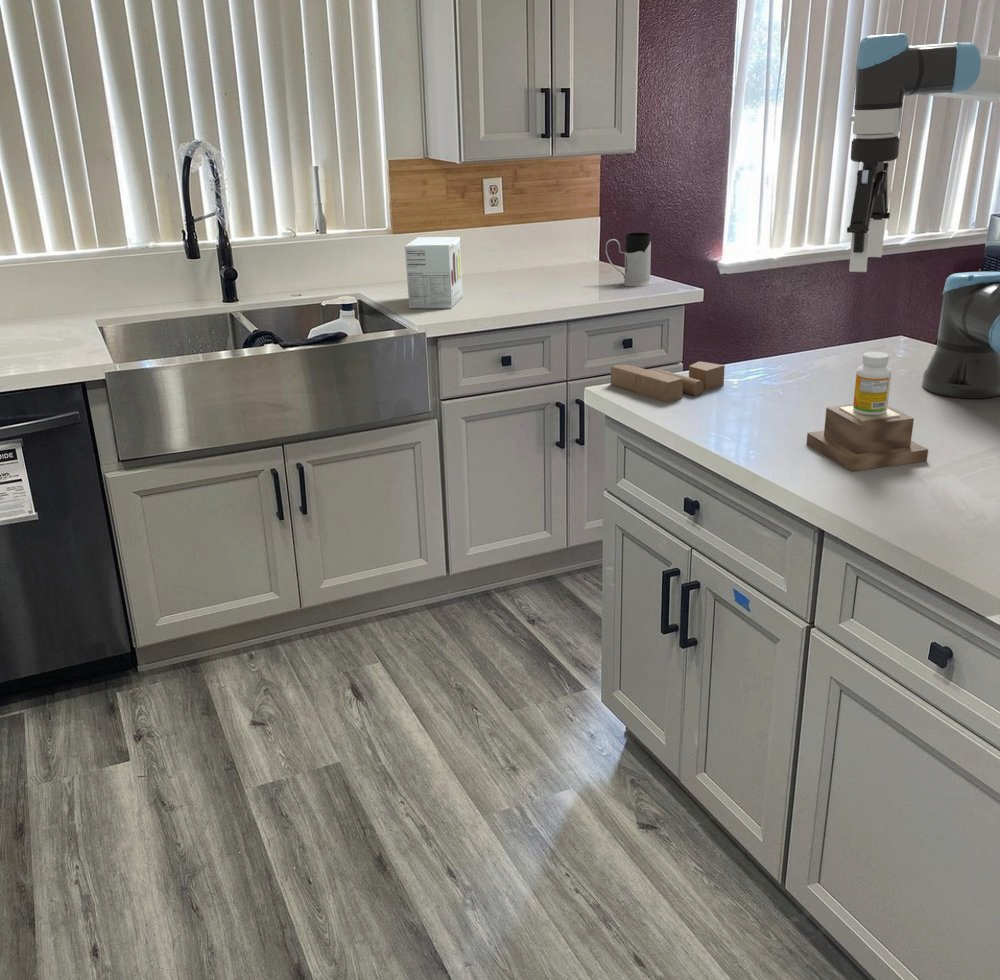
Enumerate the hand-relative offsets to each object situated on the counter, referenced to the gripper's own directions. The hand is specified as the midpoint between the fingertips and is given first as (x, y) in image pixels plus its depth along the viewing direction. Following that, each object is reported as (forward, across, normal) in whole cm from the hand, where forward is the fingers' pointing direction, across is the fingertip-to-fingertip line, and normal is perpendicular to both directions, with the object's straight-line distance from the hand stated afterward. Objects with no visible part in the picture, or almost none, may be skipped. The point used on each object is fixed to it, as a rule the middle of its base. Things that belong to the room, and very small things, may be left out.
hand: (865, 264), depth 174 cm
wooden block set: (+28, -7, -39) cm, 49 cm away
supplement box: (+27, -60, -132) cm, 147 cm away
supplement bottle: (+21, +17, +5) cm, 28 cm away
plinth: (+28, +17, +5) cm, 34 cm away
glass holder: (+28, -103, -89) cm, 139 cm away
